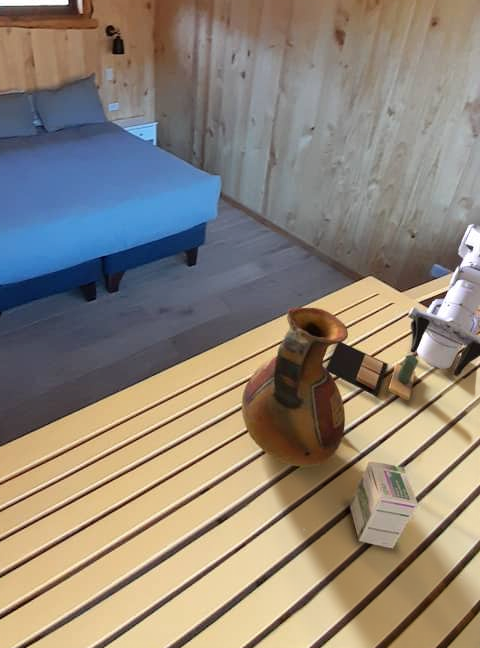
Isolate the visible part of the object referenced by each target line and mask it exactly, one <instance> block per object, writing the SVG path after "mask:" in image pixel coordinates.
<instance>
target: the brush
mask: <svg viewBox="0 0 480 648" xmlns="http://www.w3.org/2000/svg"><path fill="white" fill-rule="evenodd" d="M418 363H419V360H418V358H416V357H415V356H414V355H411V354H408V355H406V356H405V358H404V360H403V362H402V363H401V364H399V363H395V365H394V370H393V372H392V376H391V378H390V383H389V386H388V390H387V391H388V392H390V393H392V394H394V395H396V396H398V397H400V398H402V399H404V400H406V401H409V399H410V397H411V393H412V389H413V384H414V380H415V376H416V371H415V370H416V368H417V366H418Z"/></svg>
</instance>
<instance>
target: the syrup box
mask: <svg viewBox="0 0 480 648" xmlns="http://www.w3.org/2000/svg"><path fill="white" fill-rule="evenodd" d="M415 495H416V494H415V493H414V490H413V488H412V485H411V483H410V480H409V478H408V475H407V472H406V469H405V467H402V466H397V465H393V464H389V463H382V462H377V461H376V462H374V461H368V463H367V465H366V467H365V470H364V472H363V474H362V476H361V479H360V481H359V483H358V485H357V488H356V489H355V492H354V495H353V497H352V499H351V501H350V504H349V509H350V513H351V516H352V520H353V524H354V528H355V532H356V536H357V540H358V541H359V542H361V543H366V544H371V545H375V546H378V547H379V546H380V547H385V548H389V549H394V547H395V545H396V544H397V542H398V540H399V538H400V537H401V535H402V533H403V531H404V530H405V528H406V527H407V525H408V523H409V521H410V520H411V518H412V516H413V515H414V513H415V511H416V509H417V508H418V507H419V503H418V501H417V498H416V496H415Z"/></svg>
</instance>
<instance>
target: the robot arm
mask: <svg viewBox="0 0 480 648" xmlns="http://www.w3.org/2000/svg"><path fill="white" fill-rule="evenodd" d="M457 254H458V256H460V257H461V258H462V262H461V264H460V265H458V266H457V267H456V269H455V270H454V273H453V274H452V277H451V279H450V282H449V286H448V290H447V292H446V294H445V295H446V296H444V298H436V299H434V300H433V301H432V303H431V304H430V305H429V307H428V309H427V310H426V311H424V310H422V309H419V308H417V307H415V306H413V307H411V310H410V312H409V314H408V315H407V317H408V318H409V319H411V320H412V321H411V322H410V330H411V338H412V339H411V348H410V352H411V353H413V354H415V353H417V355H418V356H419V358H420V359H421V360H422V361H424V362H425V363H426V364H427V365H430V366H432V367H434V368H437V369H443V370H445V369H449V368H450V367H451V366H452V364H453V362H454V360H455V359H456V358H457V356H458V354H459V351H460V350H461V349H462V348H463V347H465V348H464V350H462V351H461V353H460V356H459V360H458V362H457V365H456V366H455V368H454V370H453V373H452V376H455V377H459V376H460V375H461V374H462V372H463V371H464V369H466V367H467V366H468V365H469V364H470V363H471V362H473V361H474V360H477V359H478V358H479V357H480V337H479V336H478V335H477V334H478V332H479V329H480V316H479V315H478V313H477V312H478V309H479V308H480V226H479V225H476V224H474V223H471V224H469V225H468V227H467V229H466V231H465V233H464V236H463V238H462V240H461V243H460V245H459V248H458V253H457Z"/></svg>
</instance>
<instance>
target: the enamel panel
mask: <svg viewBox="0 0 480 648" xmlns="http://www.w3.org/2000/svg"><path fill="white" fill-rule="evenodd" d="M365 355H368V356H370V357H372V358H374V359H376V360H378V361H380V362H383V366H382V369H381V372H380V375H379V378H378V381H377V384H376V387H375V389H372V388H370V387H368V386H366V385H364V384H363V383H361V382H359V381H357V380H356V378H357V375H358V373H359V370H360V368H361V365H362V362H363V360H364V357H365ZM388 365H389V363H387V362H385V361H383V360H381V359H379V358H376V357H374V356H372V355H370V354H367V353H365V352H364V351H362V350H359V349H358V348H356V347H352V346H351V345H348V344H346V343H344V342H341V343H337V344H336V346H335V348H334V350H333V352H332V355H331V357H330V359H329V361H328V363H327V365H326V367H325V368H326V369H327V370H328V372H329V373H330V375H333V376H336V377H337V378H339V379H341V380H343V381H345V382H347V383H349V384H351V385H353V386H355V387H357V388H358V389H360V390H363V391H364V392H367V393H368V394H370V395H372V396H374V397H376V398H378V397H379V394H380V391H381V387H382V384H383V381H384V379H385V375H386V371H387V368H388Z"/></svg>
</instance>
